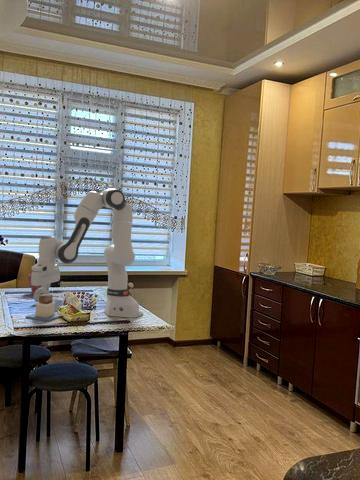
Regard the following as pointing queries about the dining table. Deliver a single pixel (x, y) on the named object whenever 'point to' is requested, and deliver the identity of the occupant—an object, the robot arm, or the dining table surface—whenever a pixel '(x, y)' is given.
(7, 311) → the dining table surface
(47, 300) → the walnut block
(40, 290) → the donut
